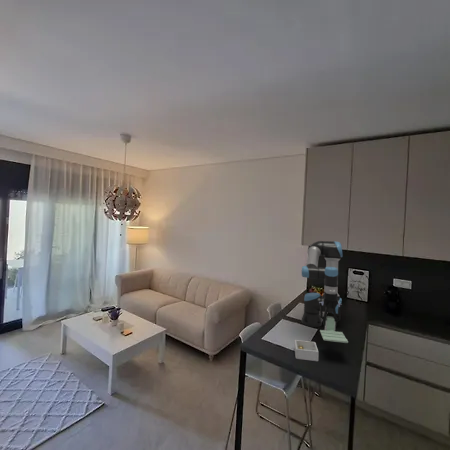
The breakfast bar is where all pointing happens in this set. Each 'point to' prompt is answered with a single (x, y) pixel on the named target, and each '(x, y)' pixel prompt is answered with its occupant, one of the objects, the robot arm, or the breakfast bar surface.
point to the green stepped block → (332, 332)
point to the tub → (306, 350)
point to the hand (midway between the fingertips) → (329, 330)
